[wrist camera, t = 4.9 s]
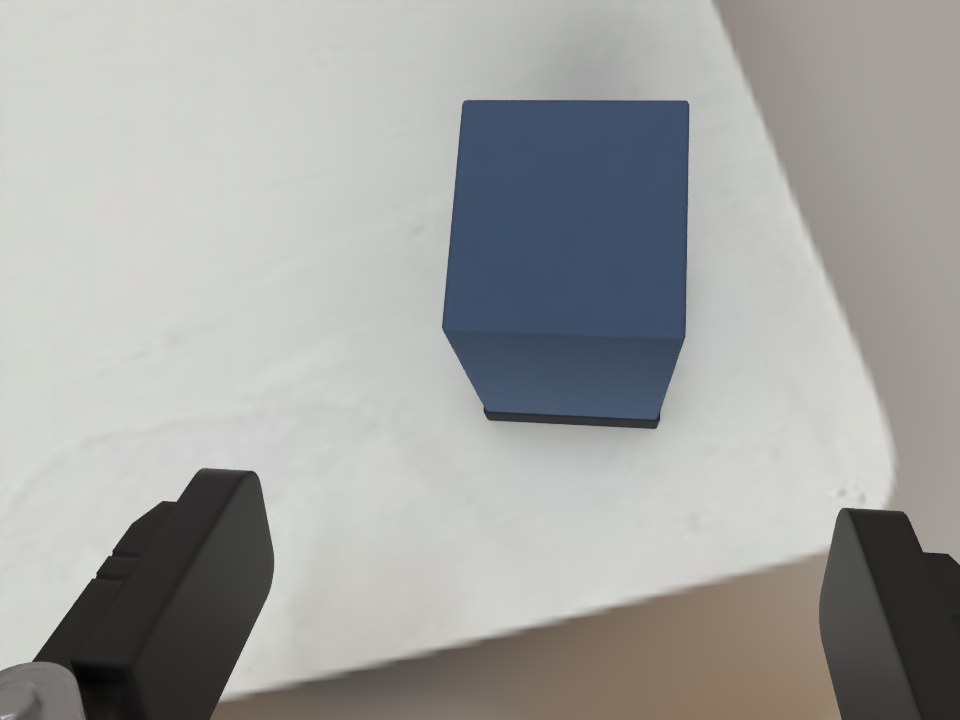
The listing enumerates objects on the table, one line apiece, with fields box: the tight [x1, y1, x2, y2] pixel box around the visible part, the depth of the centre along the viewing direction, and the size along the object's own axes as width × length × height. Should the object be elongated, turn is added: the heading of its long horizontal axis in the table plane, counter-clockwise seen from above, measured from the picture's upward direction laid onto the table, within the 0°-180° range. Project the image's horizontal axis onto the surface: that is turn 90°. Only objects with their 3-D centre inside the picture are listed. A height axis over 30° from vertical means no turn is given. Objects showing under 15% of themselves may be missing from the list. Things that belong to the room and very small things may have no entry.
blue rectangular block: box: [442, 100, 689, 429], centre depth 20 cm, size 4×5×8 cm
